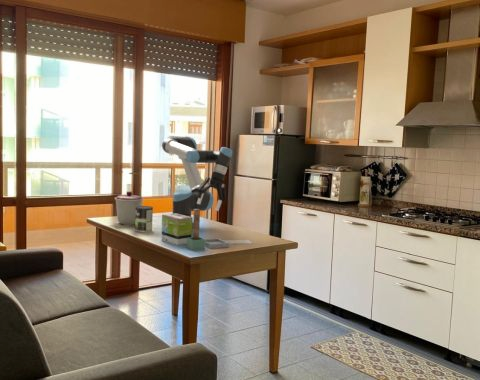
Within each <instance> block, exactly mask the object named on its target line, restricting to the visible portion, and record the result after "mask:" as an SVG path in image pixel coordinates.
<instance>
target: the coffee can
mask: <svg viewBox="0 0 480 380" xmlns="http://www.w3.org/2000/svg"><path fill="white" fill-rule="evenodd" d="M135 208H136V216H135V224H134V225H135V226H134V231H135V232H139V233H147V232H148V233H149V232H152V231H153V213H154V212H153V211H154V207H153V206H148V205H142V206H137V207H135Z"/></svg>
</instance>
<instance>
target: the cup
mask: <svg viewBox="0 0 480 380" xmlns="http://www.w3.org/2000/svg"><path fill="white" fill-rule="evenodd" d="M205 239H206V238H203V237H200V236H199V240H193V236H192V237H189V238H187V244H186V247H185V248H187V249H189V250H191V251H197V250H198V251H201V250H205V248H206V247H205Z"/></svg>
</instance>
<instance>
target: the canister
mask: <svg viewBox="0 0 480 380" xmlns="http://www.w3.org/2000/svg"><path fill="white" fill-rule="evenodd" d="M114 200H115V205H116V206H115V208H116V218H117V221H118V223H119V224H121V225H125V226H126V225H127V226H133V225H135V216H136V208H135V207H137V206H143V201H144V200H145V199H144V197H142V196H140V195H136V194H133V192H132V191H131V190H128V191H126V194H121V195H117V196H116V197H114Z"/></svg>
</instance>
